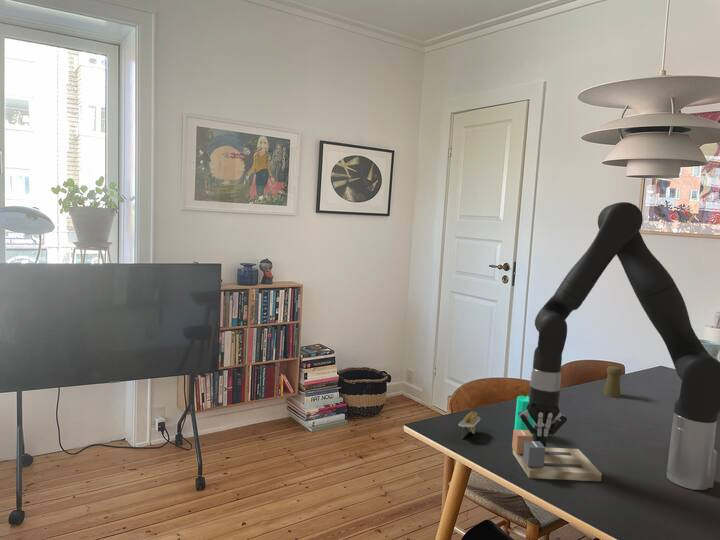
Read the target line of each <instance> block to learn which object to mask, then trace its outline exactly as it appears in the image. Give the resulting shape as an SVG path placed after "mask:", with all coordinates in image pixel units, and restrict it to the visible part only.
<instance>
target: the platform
mask: <svg viewBox="0 0 720 540" xmlns="http://www.w3.org/2000/svg"><path fill="white" fill-rule="evenodd" d="M480 421H481V417H480V416H478V412H476V411H470V412H469V413H468V414H466V415H465V416H464V418H463V419H461V421H460V422H459V423H458V426H459V427H462V429H461V431H462V432H461V440H463V439H464V438H465V437H466V436H467V435H468V434H470V432H471V433H472V434H473V435H474V434H476V425H477V424H478V423H479V422H480Z"/></svg>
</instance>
